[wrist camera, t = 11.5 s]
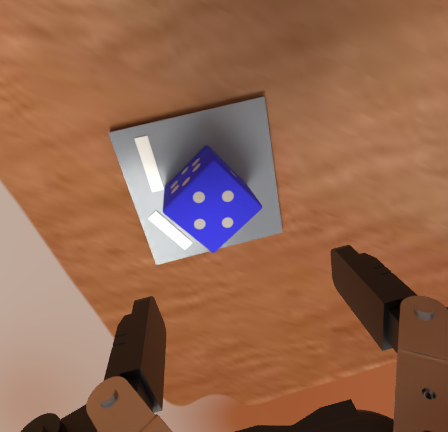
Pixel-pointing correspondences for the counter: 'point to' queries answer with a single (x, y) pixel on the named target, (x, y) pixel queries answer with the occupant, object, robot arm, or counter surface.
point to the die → (209, 200)
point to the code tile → (182, 154)
